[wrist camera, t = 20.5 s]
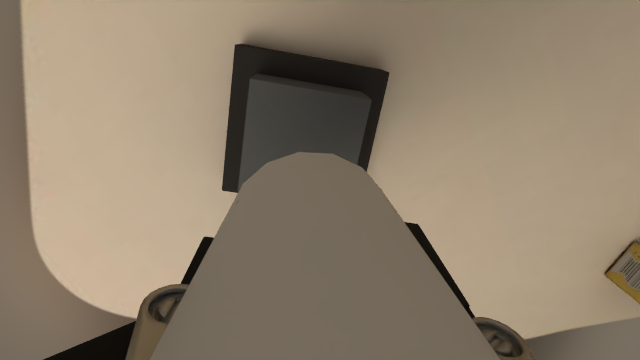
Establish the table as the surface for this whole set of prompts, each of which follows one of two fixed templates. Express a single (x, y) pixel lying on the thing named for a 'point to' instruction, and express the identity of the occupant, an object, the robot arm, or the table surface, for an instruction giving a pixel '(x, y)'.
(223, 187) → the black pad
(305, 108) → the grey pad
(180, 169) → the table surface
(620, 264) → the candy box
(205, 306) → the white cup
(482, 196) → the table surface
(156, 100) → the table surface
